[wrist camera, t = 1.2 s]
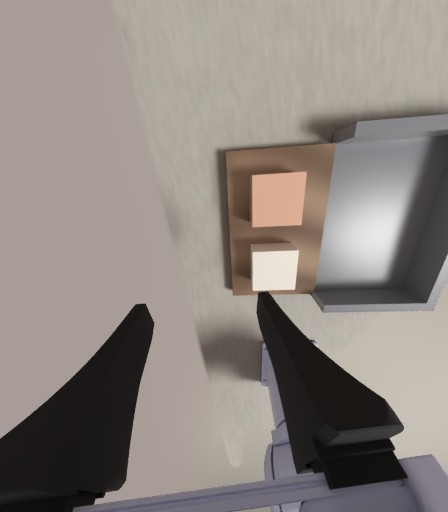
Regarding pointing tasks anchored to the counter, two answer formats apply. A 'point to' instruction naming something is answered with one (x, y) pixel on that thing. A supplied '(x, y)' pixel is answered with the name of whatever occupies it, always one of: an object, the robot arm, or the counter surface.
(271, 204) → the terracotta tile
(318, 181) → the walnut plate
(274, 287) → the cream tile
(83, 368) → the robot arm
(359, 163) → the tray
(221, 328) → the counter surface
